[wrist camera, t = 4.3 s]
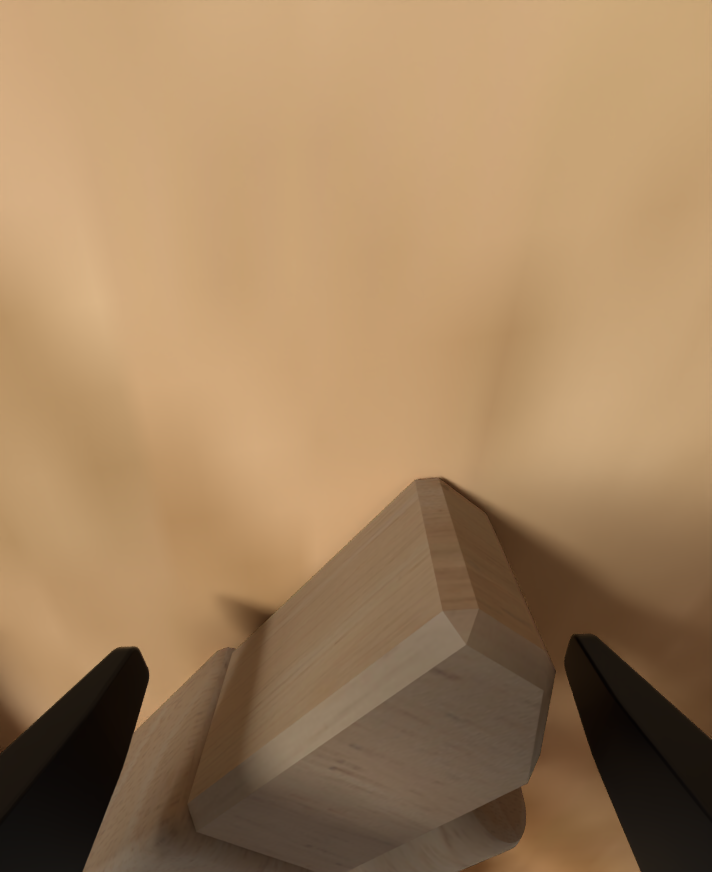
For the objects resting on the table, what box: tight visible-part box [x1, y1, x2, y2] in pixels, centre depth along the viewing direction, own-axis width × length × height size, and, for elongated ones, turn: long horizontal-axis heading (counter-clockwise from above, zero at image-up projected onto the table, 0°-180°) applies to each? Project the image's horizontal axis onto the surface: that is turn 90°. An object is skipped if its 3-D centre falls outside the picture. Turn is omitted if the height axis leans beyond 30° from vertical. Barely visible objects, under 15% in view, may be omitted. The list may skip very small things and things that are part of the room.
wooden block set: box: [83, 478, 556, 872], centre depth 12 cm, size 17×6×18 cm
